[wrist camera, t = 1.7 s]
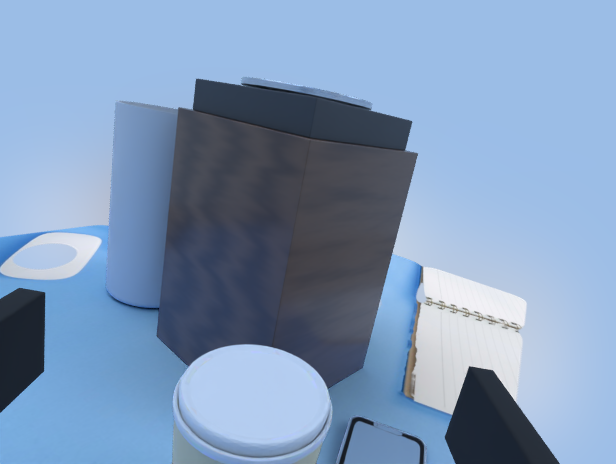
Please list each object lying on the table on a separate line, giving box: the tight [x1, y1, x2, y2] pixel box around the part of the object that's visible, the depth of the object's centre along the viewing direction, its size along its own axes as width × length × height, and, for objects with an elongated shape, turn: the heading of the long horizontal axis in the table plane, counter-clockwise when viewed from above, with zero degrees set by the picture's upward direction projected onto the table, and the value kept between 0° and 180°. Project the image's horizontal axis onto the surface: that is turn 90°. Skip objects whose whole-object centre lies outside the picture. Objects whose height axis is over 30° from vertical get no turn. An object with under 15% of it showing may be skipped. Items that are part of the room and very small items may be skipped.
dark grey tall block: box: [157, 108, 418, 389], centre depth 45 cm, size 18×17×26 cm
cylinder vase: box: [106, 101, 178, 308], centre depth 55 cm, size 12×12×25 cm
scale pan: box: [241, 77, 372, 110], centre depth 40 cm, size 13×13×1 cm
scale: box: [193, 79, 412, 151], centre depth 41 cm, size 16×15×3 cm
